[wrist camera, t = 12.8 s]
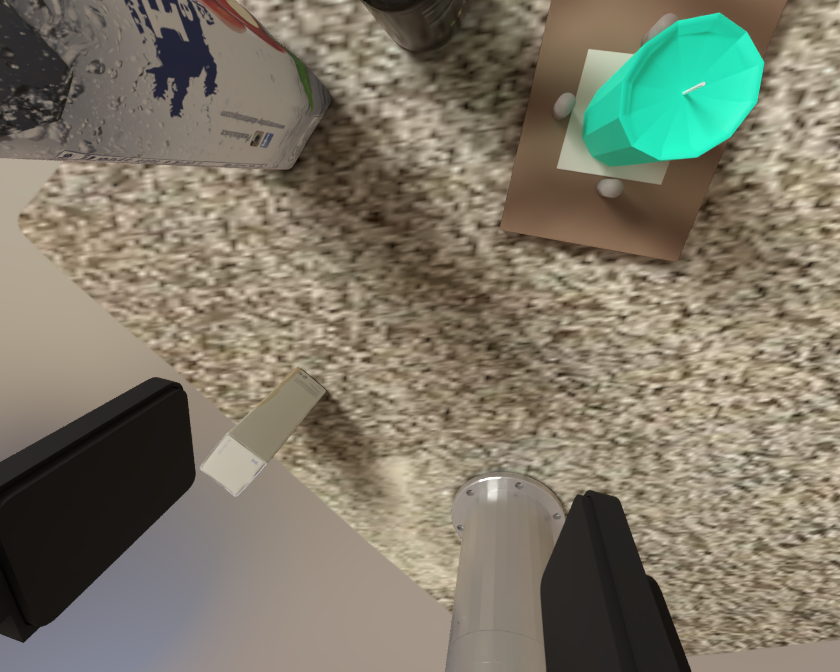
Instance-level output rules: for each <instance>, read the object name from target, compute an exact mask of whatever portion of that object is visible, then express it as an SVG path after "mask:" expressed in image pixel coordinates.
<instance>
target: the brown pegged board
mask: <svg viewBox="0 0 840 672" xmlns="http://www.w3.org/2000/svg"><path fill="white" fill-rule="evenodd" d="M786 2H787V0H551V4H550V8H549V13H548V17H547V22H546V26H545V31H544V35H543V39H542V44H541V48H540V53H539V57H538V61H537V66H536V70H535V75H534V79H533V84H532V88H531V92H530V97H529V101H528V106H527V110H526V114H525V119H524V123H523V128H522V132H521V137H520V141H519V145H518V150H517V154H516V159H515V163H514V167H513V172H512V176H511V181H510V185H509V190H508V194H507V198H506V203H505V207H504V212H503V216H502V220H501V225H500V230H504V231H509V232H515V233H520V234H526V235H531V236H537V237H543V238H548V239H554V240H559V241H565V242H570V243H576V244H581V245H587V246H592V247H598V248H603V249H609V250H614V251H620V252H625V253H631V254H637V255H642V256H648V257H653V258H659V259H664V260H670V261H675V262H677V261H678V259H679V256H680V254H681V252H682V249H683V247H684V244H685V242H686V240H687V237H688V235H689V232H690V230H691V228H692V225H693V223H694V221H695V218H696V216H697V213H698V211H699V209H700V206H701V204H702V202H703V199H704V197H705V194H706V192H707V190H708V187H709V185H710V183H711V180H712V178H713V175H714V173H715V171H716V168H717V166H718V164H719V161H720V159H721V156H722V154H723V152H724V149H725V147H726V144H727V142H728V140H729V138H728V139H727V140H725V141H723V142H722V143H720V144H718V145H717V146H715V147H713V148H712V149H710V150H709V151H707V152H705V153H704V154H702V155H700V156H699V157H696V158H687V159H679V160H670V161H662V162H653V163H645V164H636V165H625V166H613V167H610V166H608V165H606V164H604V163H602V162H600V161H598V160H597V159H595V158H593V157H592V156H591V154H590V153H589V151H588V149H587V147H586V145H585V143H584V141H583V139H582V131H583V117H584V113H585V111H586V109H587V107H588V106H589V104H590V102H591V100H592V99H593V97H594V95H595V94H596V92H597V90H599V89H600V88H601V87H602V86H603V85H604V84H605V83H606V82H607V81H608V80H609V79H610V78H611V77H612V76H613V75H614V74H615V73H616V72H617V71H618V70H619V69H620V68H621V67H622V66H623V65H624V64H625V63H626V62H627V61H628V60H629V59H630V58H631V57H632V56H633V55H634V54H635V53H636V52H637V51H638V50H639V49H640V48H641V47H642V46H643V45H644V44H645V43H647V42H648V41H649V40H651V39H652V38H654V37H655V36H657V35H658V34H659V33H661V32H662V31H664V30H665V29H667V28H668V27H669V26H671V25H672V24H674V23H675V22H677V21H679V20H684V19H689V18H694V17H700V16H705V15H710V14H715V13H721V14H722V15H724V16H725V17H727V18H728V19H729V20H731V21H732V22H734V23H735V24H737V25H738V26H739V27H741V28H742V29H744V30H745V31H747V33H748V35H749V36H750V38H751V40H752V42H753V43H754V45H755V47H756V49H757V51H758V52H759V54H760V56H761V58H762V59H763V56H764V54H765V52H766V49H767V47H768V45H769V42H770V40H771V37H772V35H773V33H774V30H775V28H776V26H777V23H778V21H779V18H780V16H781V14H782V11H783V9H784V7H785V4H786Z"/></svg>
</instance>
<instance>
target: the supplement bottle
mask: <svg viewBox="0 0 840 672" xmlns="http://www.w3.org/2000/svg"><path fill="white" fill-rule="evenodd" d="M469 1H470V0H361V2H362V3H363V4H364V5H365V6H366V8H367V9H368V10H369V11H370V13H371V14H372V15H373V16H374V17H375V19H376V20H377V21H378V22H379V24H380V25H381V26H382V27H383V28H384V30H385V31H386V32H387V33H388V34H389V36H390V37H391V38H392V39H393V40H394V41H395V42H396V43H397V44H399V45H400V46H402V47H403V48H405V49H407V50H410V51H413V52H429V51H433V50H435V49H438V48H440V47H441V46H443V45H444V44H446V43H447V42H448V41H449V40H450V39H451V38H452V37H453V36H454V35H455V34H456V33H457V31H458V30H459V28H460V26H461V25H462V23H463V21H464V18H465V16H466V13H467V10H468V6H469Z"/></svg>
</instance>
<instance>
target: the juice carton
mask: <svg viewBox="0 0 840 672" xmlns="http://www.w3.org/2000/svg"><path fill="white" fill-rule="evenodd" d="M331 101H332V97H331V95H330V93H329V92H328V91H327V89H326V88H325V87H324V85H323V84H322V83H321V82H320V81H319V79H318V78H317V77H316V76H315V75H314V73H313V72H312V71H311V70H310V69H309V68H308V67H307V66H306V65H305V64H304V63H303V62H302V61H301V60H300V59H298V58H297V57H296V56H295V55H294V54H293V53H291V52H290V51H289V50H287V49H286V48H285V47H284V46H282V45H281V44H280V43H279V42H278V41H277V40H275V38H274V37H273V36H272V35H271V34H270V33H269V32H268V31H267V30H266V29H265V28H264V26H263V25H262V24H261V23H260V22H259V21H258V20H257V19H256V18H255V17H254V16H253V15H252V14H251V13H250V12H249V11H248V10H246V9H245V8H244V7H243V6H242V5H240V4H239V3H238V2H237V1H235V0H0V158H14V159H35V160H37V159H38V160H59V161H82V162H106V163H130V164H154V165H177V166H201V167H225V168H249V169H284V170H285V169H290V168H291V167H292V166H293V165H294V164H295V162H296V161H297V159H298V157H299V156H300V154H301V152H302V150H303V148H304V147H305V145H306V143H307V141H308V139H309V137H310V136H311V134H312V133H313V131H314V129H315V128H316V126H317V125H318V123H319V122H320V120H321V119H322V117H323V116H324V114H325V113H326V111H327V109H328V107H329V106H330V104H331Z"/></svg>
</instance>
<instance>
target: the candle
mask: <svg viewBox="0 0 840 672" xmlns="http://www.w3.org/2000/svg"><path fill="white" fill-rule="evenodd" d="M763 68H764V61H763V59H762V58H761V56H760V54H759V52H758V51H757V49H756V47H755V45H754V43H753V42H752V40H751V38H750V36H749V35H748V33H747V31H745V30H744V29H742V28H741V27H739V26H738V25H737V24H735V23H734V22H732V21H731V20H729V19H728V18H727V17H725V16H724V15H722V14H721V13H715V14H710V15H705V16H700V17H694V18H689V19H684V20H679V21H677V22H675V23H674V24H672V25H671V26H669V27H668V28H667V29H665V30H664V31H662V32H661V33H659V34H658V35H657V36H655V37H654V38H652V39H651V40H649V41H648V42H647V43H645V44H644V45H643V46H642V47H641V48H640V49H639V50H638V51H637V52H636V53H635V54H634V55H633V56H632V57H631V58H630V59H629V60H628V61H627V62H626V63H625V64H624V65H623V66H622V67H621V68H620V69H619V70H618V71H617V72H616V73H615V74H614V75H613V76H612V77H611V78H610V79H609V80H608V81H607V82H606V83H605V84H604V85H603V86H602V87H601V88H600V89H599V90H597V92H596V94H595V95H594V97H593V99H592V100H591V102H590V104H589V106H588V107H587V109H586V111H585V113H584V117H583V131H582V139H583V141H584V143H585V145H586V147H587V149H588V151H589V153H590V154H591V156H592V157H593V158H595V159H597V160H598V161H600V162H602V163H604V164H606V165H608V166H610V167H613V166H625V165H636V164H645V163H653V162H662V161H670V160H679V159H687V158H696V157H699V156H700V155H702V154H704V153H705V152H707V151H709V150H710V149H712V148H713V147H715V146H717V145H718V144H720V143H722V142H723V141H725V140H727V139H728V138H730V137H731V136H732V135H733V133H734V132H735V131H736V129H737V128H738V127H739V125H740V124H741V123H742V122H743V120H744V119H745V118H746V116H747V115H748V114H749V112H750V111H751V110H752V109H753V107H754V106H755V105H756V103H757V101H758V95H759V90H760V84H761V79H762V73H763Z"/></svg>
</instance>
